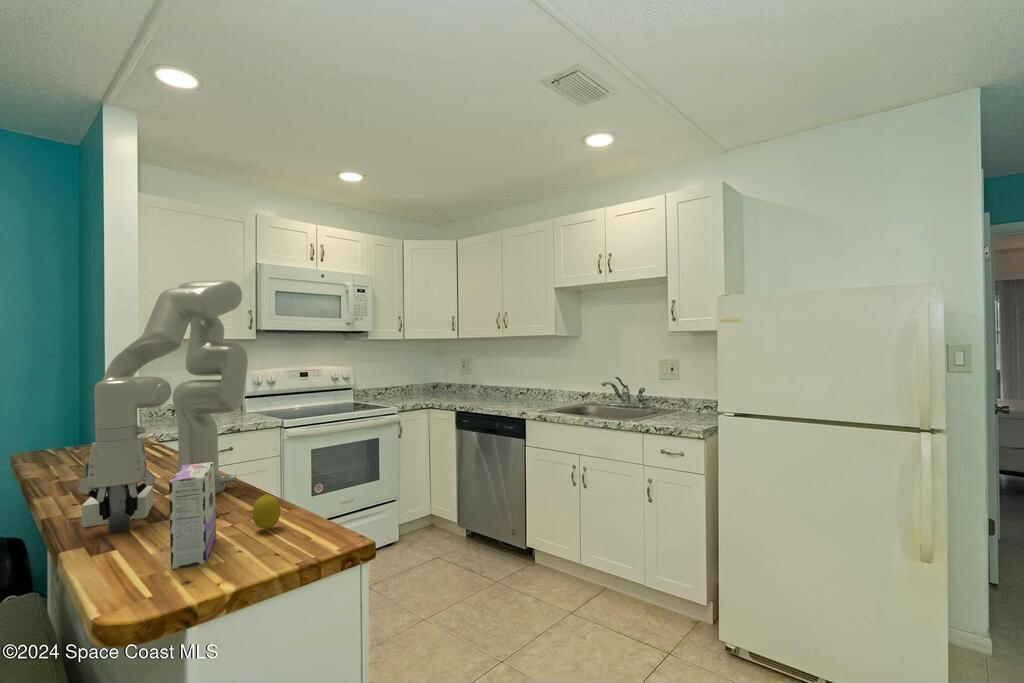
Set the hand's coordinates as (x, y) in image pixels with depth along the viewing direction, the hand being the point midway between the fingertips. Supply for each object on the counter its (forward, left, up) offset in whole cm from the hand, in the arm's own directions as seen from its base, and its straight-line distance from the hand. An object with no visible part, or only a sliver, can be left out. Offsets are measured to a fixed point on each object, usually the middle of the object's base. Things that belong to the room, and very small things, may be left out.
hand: (119, 515), depth 114 cm
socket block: (+2, -13, -3) cm, 14 cm away
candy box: (-16, +25, -4) cm, 30 cm away
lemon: (-29, +19, -3) cm, 35 cm away
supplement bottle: (+11, -42, -4) cm, 44 cm away
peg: (0, 0, -3) cm, 3 cm away
